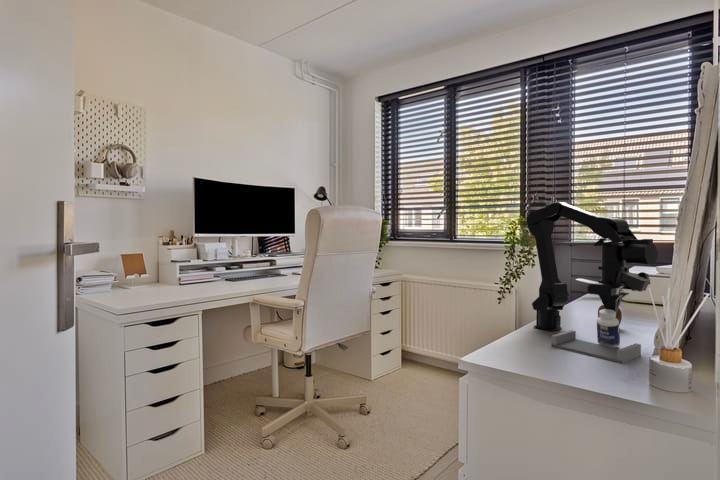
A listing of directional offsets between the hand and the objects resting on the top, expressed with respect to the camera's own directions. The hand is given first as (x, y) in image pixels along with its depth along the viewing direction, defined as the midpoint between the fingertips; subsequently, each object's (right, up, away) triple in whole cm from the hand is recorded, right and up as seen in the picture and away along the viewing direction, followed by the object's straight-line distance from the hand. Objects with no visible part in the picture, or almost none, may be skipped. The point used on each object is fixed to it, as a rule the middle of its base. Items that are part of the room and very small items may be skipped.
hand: (612, 317), depth 115 cm
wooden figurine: (+12, -8, +22) cm, 26 cm away
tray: (-8, -8, -5) cm, 13 cm away
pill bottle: (-1, -8, 0) cm, 8 cm away
